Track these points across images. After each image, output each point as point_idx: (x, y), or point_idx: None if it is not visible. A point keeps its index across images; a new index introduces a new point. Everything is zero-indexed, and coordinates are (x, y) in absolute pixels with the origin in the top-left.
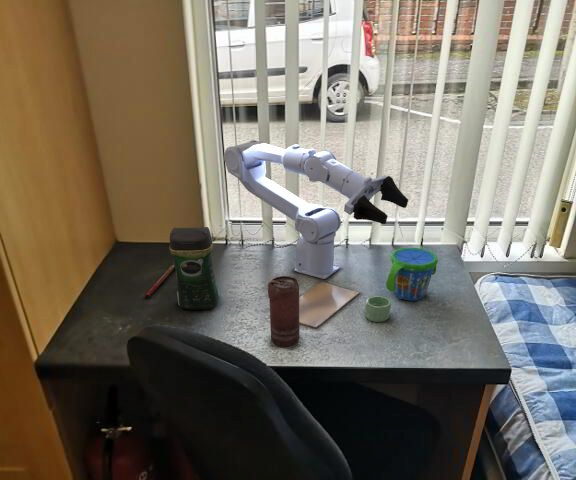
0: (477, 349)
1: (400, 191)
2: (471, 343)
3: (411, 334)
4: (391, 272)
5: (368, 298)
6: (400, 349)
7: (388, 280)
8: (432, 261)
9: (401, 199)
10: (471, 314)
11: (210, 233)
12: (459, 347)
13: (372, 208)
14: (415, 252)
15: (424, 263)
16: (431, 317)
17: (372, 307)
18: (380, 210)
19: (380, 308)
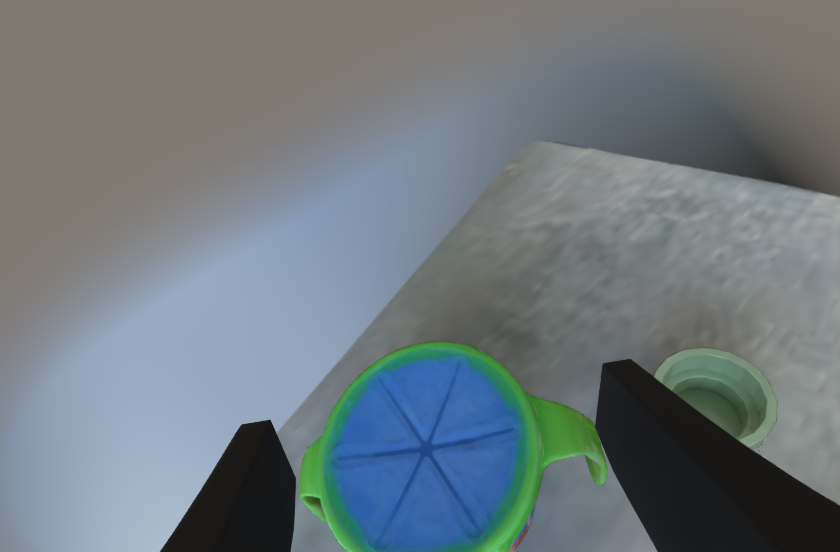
0: (526, 191)
1: (166, 543)
2: (519, 210)
3: (639, 287)
4: (591, 438)
5: (748, 442)
6: (720, 241)
7: (604, 456)
8: (401, 357)
9: (264, 491)
10: (412, 303)
11: None
12: (557, 206)
13: (798, 481)
14: (368, 497)
15: (439, 363)
16: (517, 336)
17: (760, 376)
18: (667, 421)
19: (727, 353)
